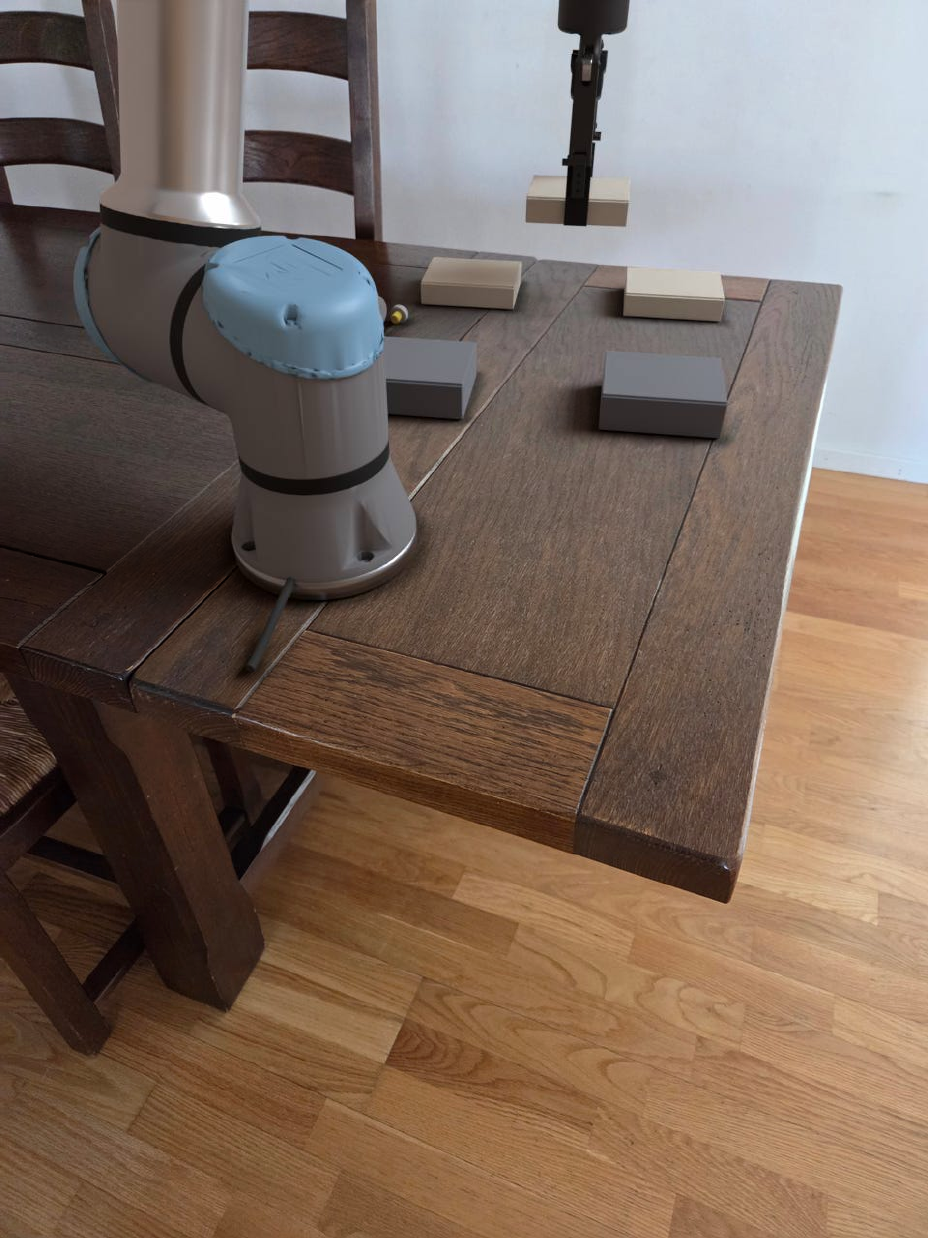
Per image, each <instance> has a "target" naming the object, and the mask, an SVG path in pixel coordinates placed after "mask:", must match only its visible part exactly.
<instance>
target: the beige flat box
mask: <svg viewBox="0 0 928 1238" xmlns="http://www.w3.org/2000/svg"><path fill="white" fill-rule="evenodd" d="M566 182H567V175H541V174H534V175H533V176H532V180H531V183H530V185H529V189H528V191H527V193H526V199H525V219H524V220H525V223H526V224H549V225H564V211H565V197H566ZM630 189H631V178H626V177H625V178H624V177H602V176H601V177H598V176H597V177H596V176H595V177H594V176H592V177H591V180H590V192H589V203H588V215H587V225H586V226H594V227H595V226H596V227H597V226H598V227H618V228H619V227H620V228H626V227H627V224H628V216H629V205H630V195H631V193H630V191H631V190H630Z"/></svg>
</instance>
